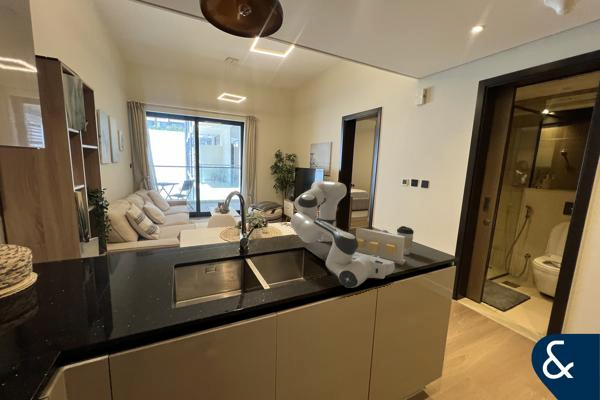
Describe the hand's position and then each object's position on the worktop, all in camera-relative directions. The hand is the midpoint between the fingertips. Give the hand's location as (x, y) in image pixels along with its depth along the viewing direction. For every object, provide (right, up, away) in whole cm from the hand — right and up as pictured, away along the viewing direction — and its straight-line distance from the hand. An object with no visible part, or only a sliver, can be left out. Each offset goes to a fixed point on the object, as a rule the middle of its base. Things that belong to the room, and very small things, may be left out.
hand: (376, 256), depth 116 cm
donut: (+16, -2, +40) cm, 43 cm away
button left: (-2, +1, +21) cm, 21 cm away
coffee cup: (+24, -4, +27) cm, 37 cm away
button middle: (+4, 0, +16) cm, 17 cm away
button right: (+12, 0, +13) cm, 18 cm away
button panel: (+7, -5, +20) cm, 22 cm away
